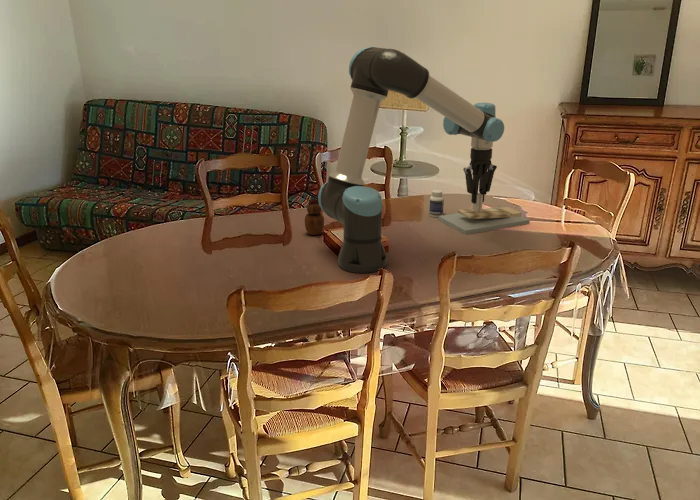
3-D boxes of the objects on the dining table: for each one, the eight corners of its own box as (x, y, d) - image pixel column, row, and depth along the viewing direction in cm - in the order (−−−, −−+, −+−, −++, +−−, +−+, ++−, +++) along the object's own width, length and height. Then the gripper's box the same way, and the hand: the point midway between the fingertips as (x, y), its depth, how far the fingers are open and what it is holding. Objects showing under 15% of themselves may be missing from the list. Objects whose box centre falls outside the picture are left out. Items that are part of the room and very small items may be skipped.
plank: (470, 218, 213) (470, 215, 212) (457, 212, 219) (458, 209, 219) (510, 217, 220) (510, 214, 220) (496, 211, 227) (497, 208, 226)
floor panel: (465, 234, 208) (465, 227, 207) (438, 219, 223) (438, 212, 222) (529, 223, 218) (529, 216, 217) (499, 210, 234) (499, 203, 233)
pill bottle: (443, 217, 226) (445, 193, 222) (429, 217, 226) (430, 193, 222) (442, 213, 231) (443, 189, 227) (428, 213, 231) (429, 189, 227)
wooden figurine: (325, 231, 212) (324, 191, 207) (323, 236, 207) (322, 195, 201) (306, 230, 213) (305, 190, 207) (304, 236, 207) (302, 195, 202)
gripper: (471, 151, 203) (466, 216, 212) (504, 147, 209) (498, 211, 217) (459, 147, 210) (455, 210, 219) (491, 144, 215) (486, 206, 224)
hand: (476, 211), depth 218 cm, fingers closed
